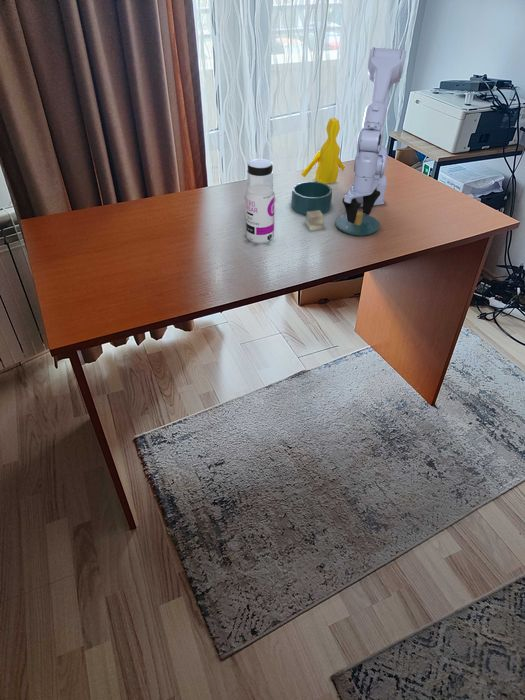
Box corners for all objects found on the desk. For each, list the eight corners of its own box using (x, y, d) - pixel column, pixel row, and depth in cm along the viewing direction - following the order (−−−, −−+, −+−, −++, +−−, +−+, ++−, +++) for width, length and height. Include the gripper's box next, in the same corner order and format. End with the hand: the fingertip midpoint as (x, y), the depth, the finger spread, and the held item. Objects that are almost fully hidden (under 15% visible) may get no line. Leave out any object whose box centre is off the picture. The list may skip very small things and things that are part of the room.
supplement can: (277, 233, 144) (278, 185, 133) (268, 246, 138) (269, 197, 128) (252, 229, 146) (251, 181, 135) (242, 242, 140) (241, 193, 130)
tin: (323, 196, 162) (324, 179, 158) (335, 213, 153) (337, 196, 149) (287, 200, 160) (287, 183, 156) (297, 217, 151) (298, 200, 147)
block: (318, 222, 149) (319, 210, 146) (322, 228, 146) (324, 216, 143) (305, 224, 148) (306, 211, 145) (309, 230, 145) (310, 217, 142)
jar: (258, 206, 157) (258, 170, 149) (242, 198, 161) (241, 163, 153) (277, 198, 162) (278, 163, 153) (261, 191, 166) (261, 156, 158)
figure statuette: (340, 174, 177) (348, 110, 162) (351, 182, 171) (360, 117, 157) (298, 181, 172) (301, 117, 157) (307, 190, 166) (312, 124, 151)
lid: (353, 212, 154) (355, 199, 151) (388, 226, 147) (390, 213, 144) (326, 226, 147) (327, 212, 144) (361, 242, 140) (363, 228, 137)
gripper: (369, 163, 142) (362, 206, 151) (338, 176, 134) (333, 220, 143) (388, 170, 138) (380, 213, 147) (358, 184, 131) (351, 229, 140)
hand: (358, 217), depth 145 cm, fingers open, 7 cm apart
